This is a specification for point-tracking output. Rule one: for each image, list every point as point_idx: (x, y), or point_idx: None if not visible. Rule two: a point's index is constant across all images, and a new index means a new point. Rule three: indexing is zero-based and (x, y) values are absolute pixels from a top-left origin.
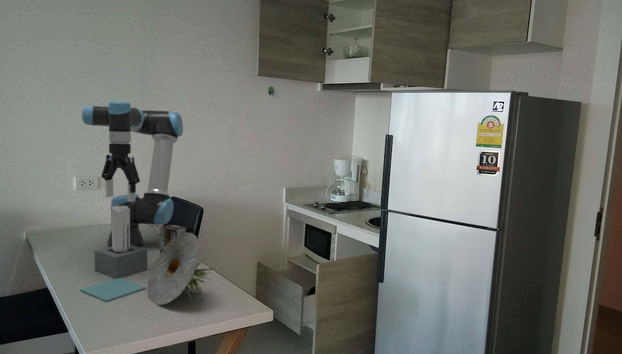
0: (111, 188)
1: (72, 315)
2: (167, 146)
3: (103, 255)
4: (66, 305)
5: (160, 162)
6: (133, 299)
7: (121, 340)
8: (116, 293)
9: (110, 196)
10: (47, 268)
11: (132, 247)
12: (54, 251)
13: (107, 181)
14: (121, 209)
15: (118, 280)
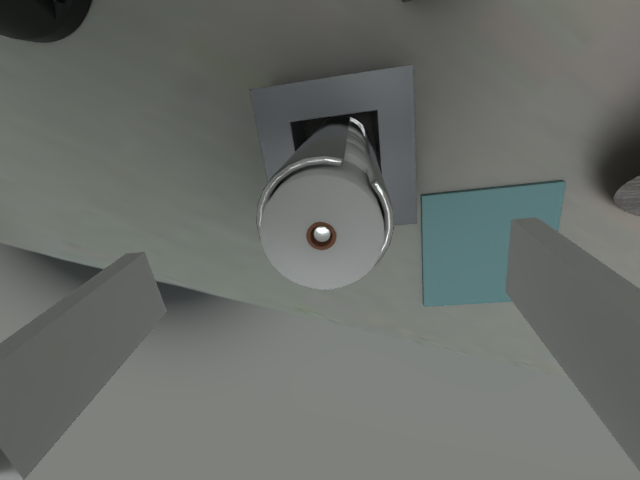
0: (90, 323)
1: (544, 367)
2: None
3: None
4: (482, 354)
5: None
6: (594, 245)
7: None
8: None
9: (151, 282)
10: (191, 286)
11: (332, 101)
12: (22, 211)
13: (31, 456)
14: (379, 251)
15: (440, 210)
